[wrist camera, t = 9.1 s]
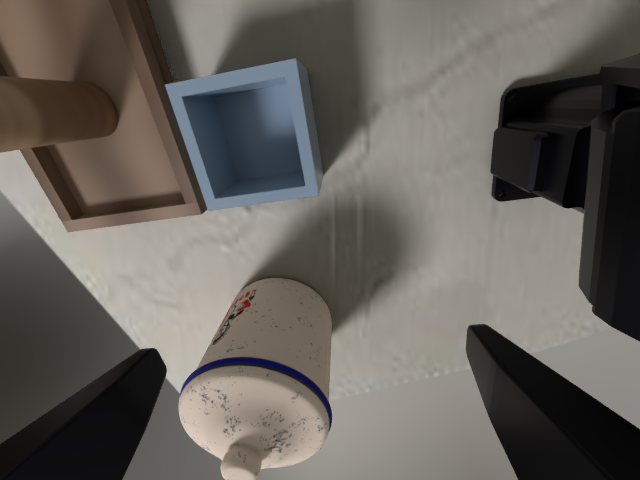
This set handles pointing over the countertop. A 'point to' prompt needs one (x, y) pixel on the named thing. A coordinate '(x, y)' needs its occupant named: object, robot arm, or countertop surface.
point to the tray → (131, 103)
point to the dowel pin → (52, 112)
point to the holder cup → (250, 134)
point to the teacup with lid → (263, 381)
